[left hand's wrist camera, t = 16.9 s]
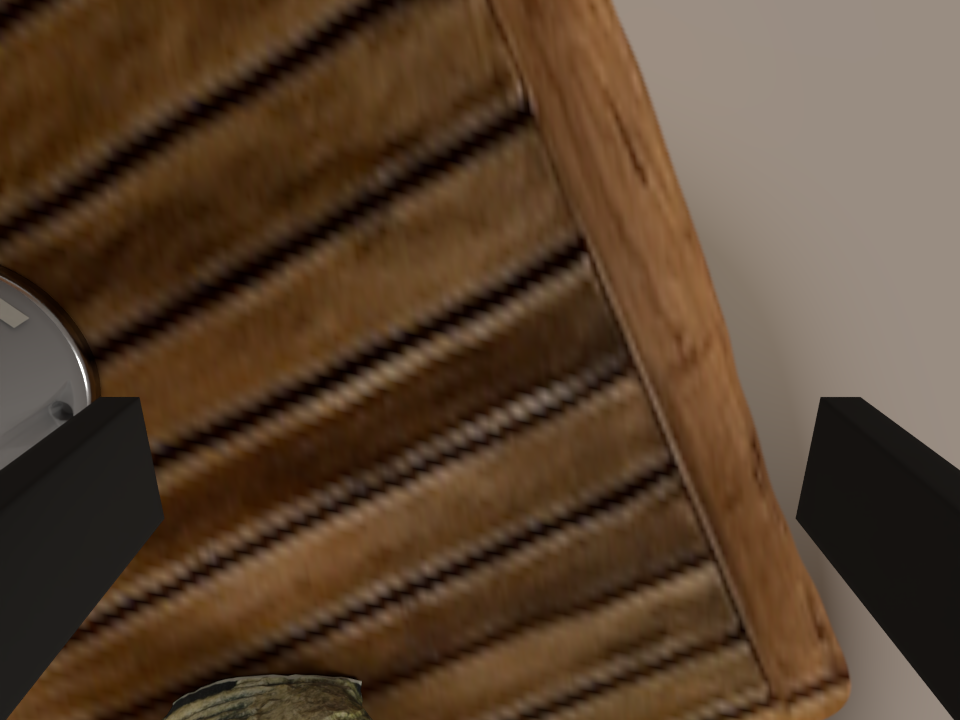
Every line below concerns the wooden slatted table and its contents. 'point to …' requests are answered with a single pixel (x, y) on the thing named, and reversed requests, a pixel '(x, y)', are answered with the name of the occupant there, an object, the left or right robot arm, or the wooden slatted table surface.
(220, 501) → the wooden slatted table surface
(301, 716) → the fossil
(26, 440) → the left robot arm
